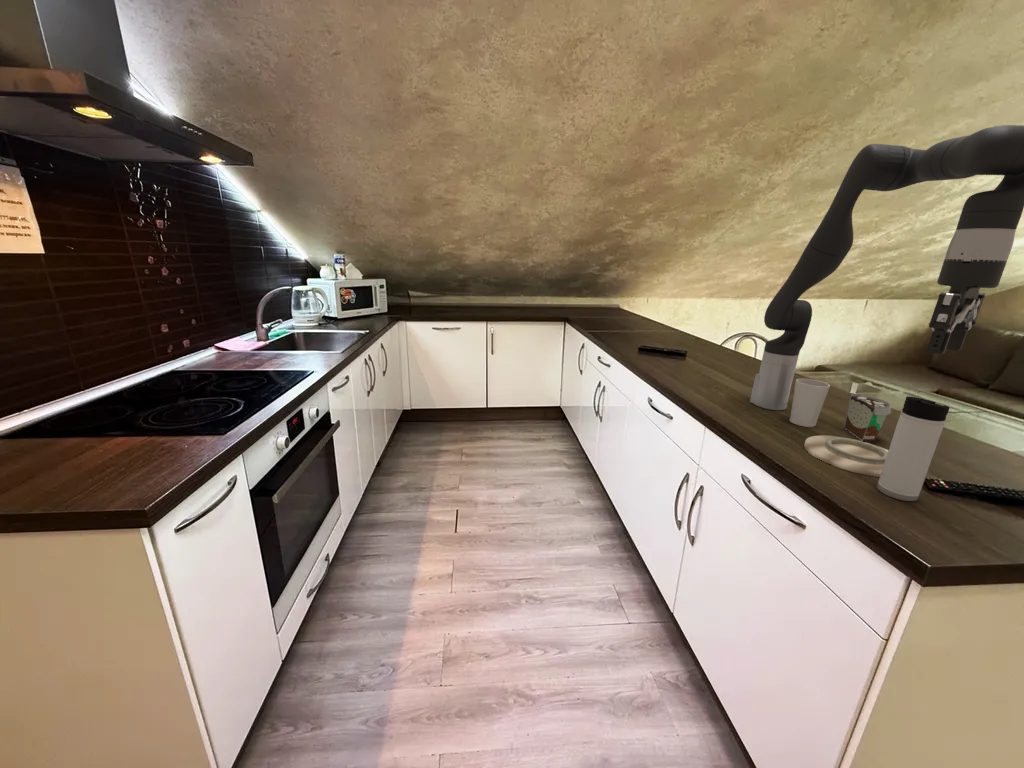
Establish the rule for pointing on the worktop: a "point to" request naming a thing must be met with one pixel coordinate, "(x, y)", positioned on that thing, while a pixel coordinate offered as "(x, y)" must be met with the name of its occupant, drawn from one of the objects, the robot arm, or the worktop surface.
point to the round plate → (848, 454)
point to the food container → (866, 416)
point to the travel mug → (912, 448)
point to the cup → (808, 401)
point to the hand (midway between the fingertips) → (943, 351)
